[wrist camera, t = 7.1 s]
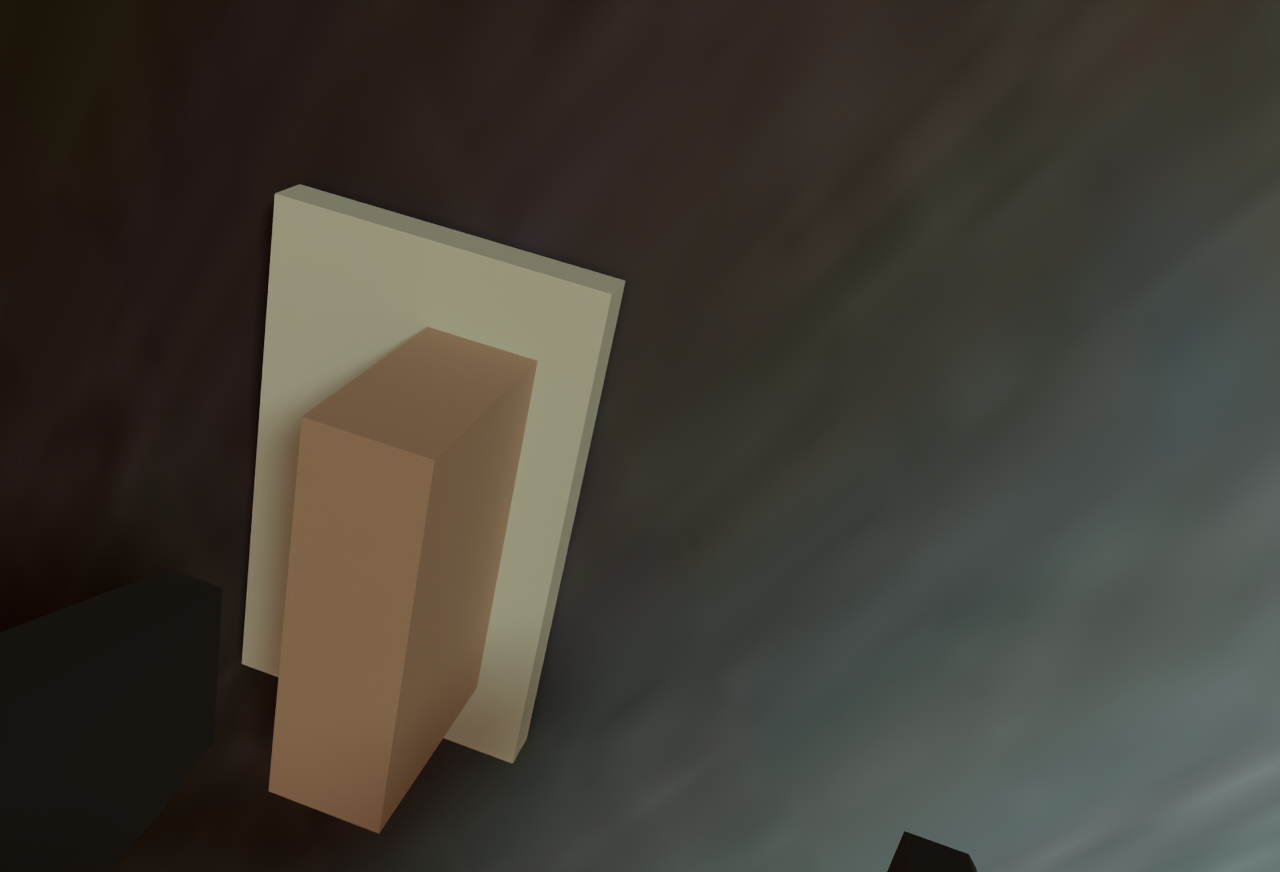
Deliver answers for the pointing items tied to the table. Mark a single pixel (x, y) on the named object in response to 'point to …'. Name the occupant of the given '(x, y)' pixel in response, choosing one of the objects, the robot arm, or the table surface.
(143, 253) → the table surface
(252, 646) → the stub
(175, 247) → the table surface
